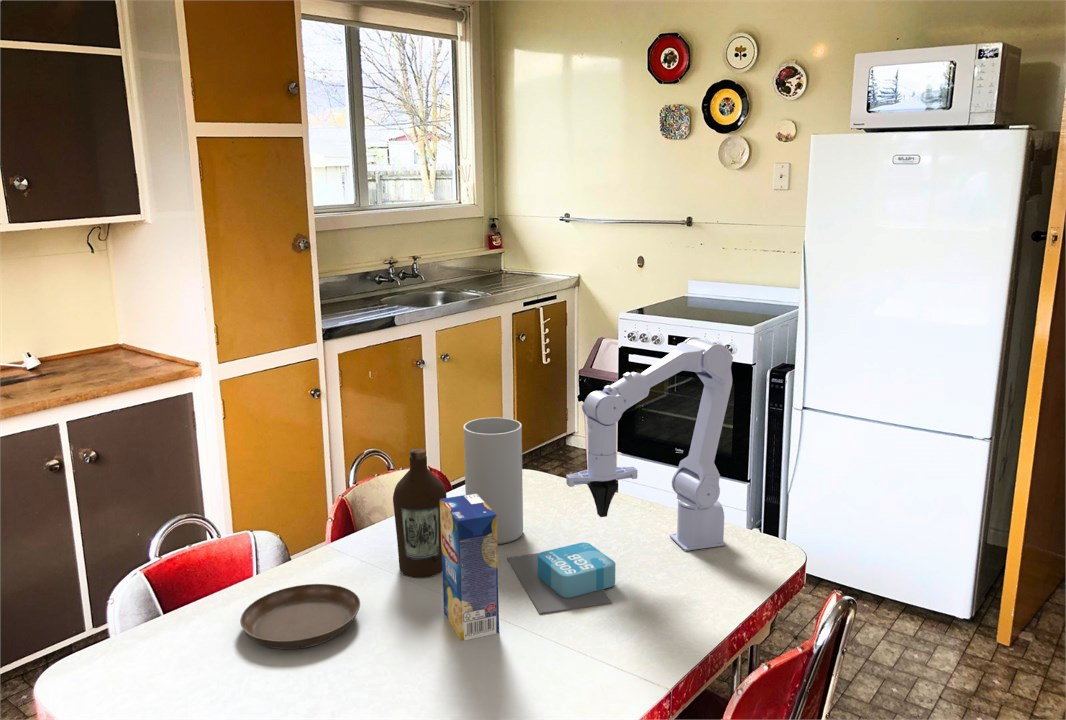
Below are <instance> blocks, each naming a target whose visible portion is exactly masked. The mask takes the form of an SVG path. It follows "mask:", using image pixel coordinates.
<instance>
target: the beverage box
mask: <svg viewBox="0 0 1066 720" xmlns="http://www.w3.org/2000/svg"><path fill="white" fill-rule="evenodd" d="M440 522H441V549H442V572H441V573H442V596H443V598H442V599H443V600H442V601H443V613H444V615H445V616H446V618H447V619H448V621H449V623H450V625H451V626H452V628H453V629H454V632H456V634H457V636H458V637H459V639H460V641H461V642H464V641H469V640H473V639H477V638H482V637H486V636H490V635H491V636H492V635H496V634H499V633H500V611H499V607H500V601H499V569H498V568H499V566H498V565H499V564H498V562H499V557H498V544H497V515H496V514H495V513H494V511H493V510H492V509H491V508H490V507H489V506H488V505H487V504H486V503H485V502H484V501H483V500H482V499H481V498H480V497H479V496H478V495H477V494H476V493H475V494H468V495H466V494H462V495H457V496H449V497H447V498H443V499H440Z"/></svg>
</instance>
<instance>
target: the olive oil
mask: <svg viewBox="0 0 1066 720" xmlns="http://www.w3.org/2000/svg"><path fill="white" fill-rule="evenodd" d="M409 455H410V456H409V470H408V471H407V472H406V473H405V474H404V475H403V477H402V478H400V480H399V481H398V482H397V484H396V485H395V487H394V491H393V494H392V495H393V496H392V504H393V512H394V521H395V522H394V523H395V531H396V532H395V534H396V543H397V544H396V545H397V553H398V566H399V571H400V573H401V574H402V575H404V576H406V577H409V578H415V579H421V578H422V579H425V578H430V577H431V578H432V577H434V576H437V575H439V574H440V573H442V549H441V522H440V499H443V498H448V497H447V492H446V488H445V485H444V483H443V482H442V480H441V479H440V478H439V477H437V475H435V473H433V472H432V471H431V470H430V469H429V468H428V459H427V450H426V449H424V448H421V447H420V448H413V449H411V450H409Z"/></svg>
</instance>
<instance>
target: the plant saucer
mask: <svg viewBox="0 0 1066 720" xmlns="http://www.w3.org/2000/svg"><path fill="white" fill-rule="evenodd" d="M360 608H361V600H360V597H359V595H357V594H356V593H355V592H353V590H352V589H349V588H347V587H343V586H340V585H336V584H328V583H310V584H298V585H293V586H289V587H285V588H282V589H279V590H276V591H272V592H270V593H267V594H266V595H265V594H264V595H263V596H262V597H260V598H258V599H256V600H254V601H253V602H252V603H250V604H249V605H248V606H247V607H246V608H245V609H244V611H243V612H242V614H241V615H240V621H239V622H240V627H241V629H242V630H243V631H244V632H245V634H247V636H249V637H250V638H251V639H252V640H254V641H255V642H257V643H258V644H260V645H263V646H265V647H269V648H273V649H279V650H296V649H299V650H300V649H305V648H308V647H313V646H317V645H320V644H323V643H325V642H327V641H330V640H333V639H334V638H335V637H338V636H339V635H340V634H342V633H343V632H344V631H345V630H346V629H347V628H348V627H349V626H350V625H351V624H352V622H353V621H354V620H355V618H356V616H357V615H358V614H359V613H358V612H359V610H360Z"/></svg>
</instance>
